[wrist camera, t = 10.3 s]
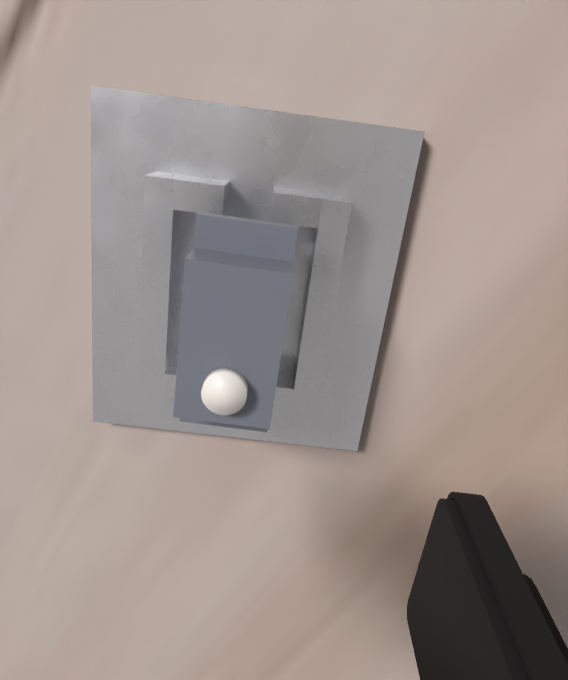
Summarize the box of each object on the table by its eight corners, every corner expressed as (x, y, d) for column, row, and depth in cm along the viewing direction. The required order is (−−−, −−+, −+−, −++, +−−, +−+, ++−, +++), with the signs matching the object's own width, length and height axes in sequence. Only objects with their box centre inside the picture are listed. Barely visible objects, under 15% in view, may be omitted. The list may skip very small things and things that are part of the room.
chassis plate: (98, 87, 23) (72, 81, 20) (419, 131, 23) (436, 132, 21) (99, 411, 29) (79, 442, 26) (355, 440, 29) (362, 474, 27)
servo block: (215, 195, 24) (184, 225, 16) (295, 207, 24) (299, 241, 17) (199, 366, 27) (167, 453, 20) (270, 376, 27) (265, 465, 20)
